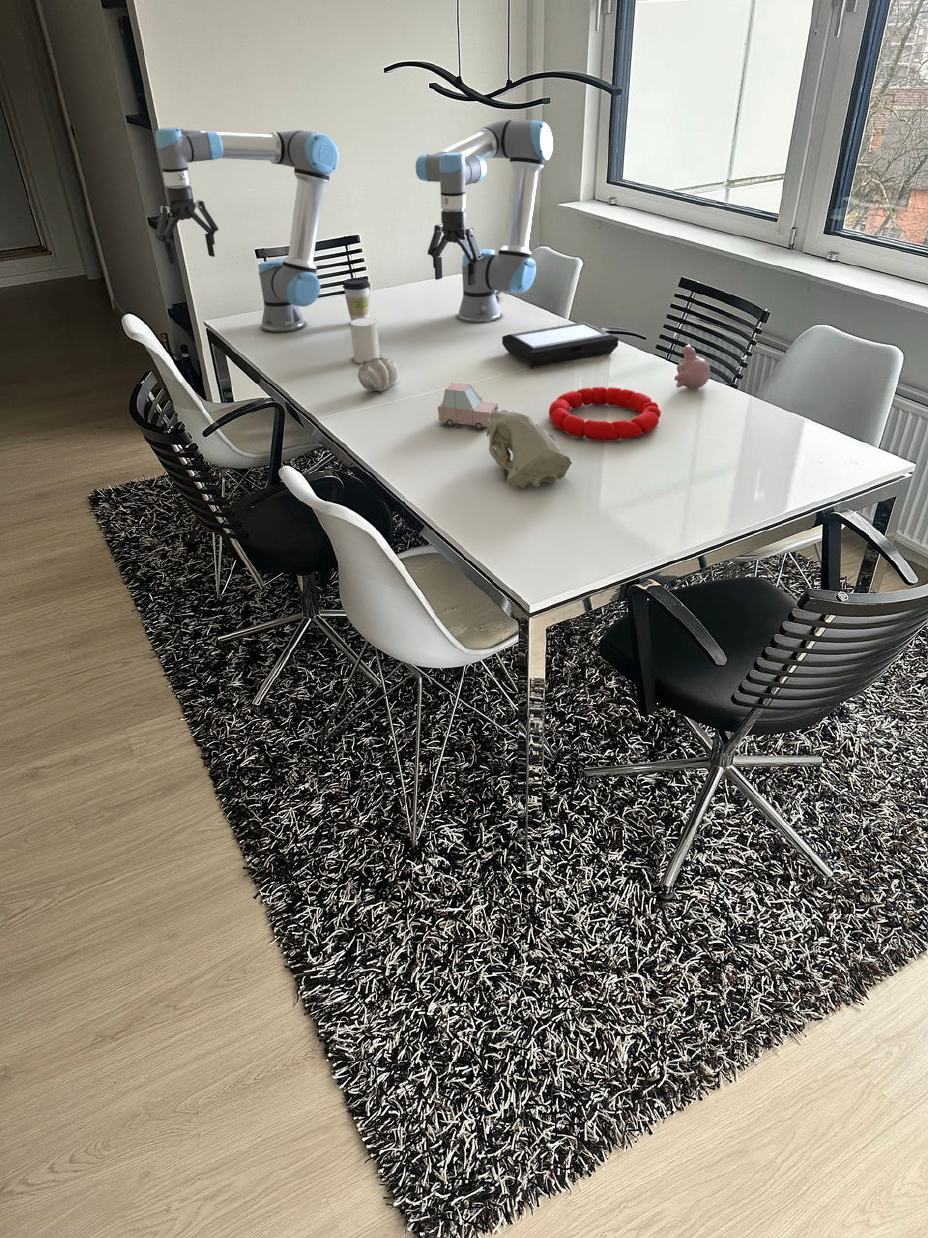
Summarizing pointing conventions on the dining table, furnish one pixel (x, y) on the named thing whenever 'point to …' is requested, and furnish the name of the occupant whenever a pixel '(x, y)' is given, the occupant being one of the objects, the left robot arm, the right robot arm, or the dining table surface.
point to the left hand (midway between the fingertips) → (192, 259)
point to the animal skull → (525, 450)
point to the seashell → (377, 374)
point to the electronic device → (559, 344)
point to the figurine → (692, 370)
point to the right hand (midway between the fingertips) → (455, 281)
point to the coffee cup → (357, 297)
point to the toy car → (465, 406)
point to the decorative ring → (604, 428)
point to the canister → (364, 339)
